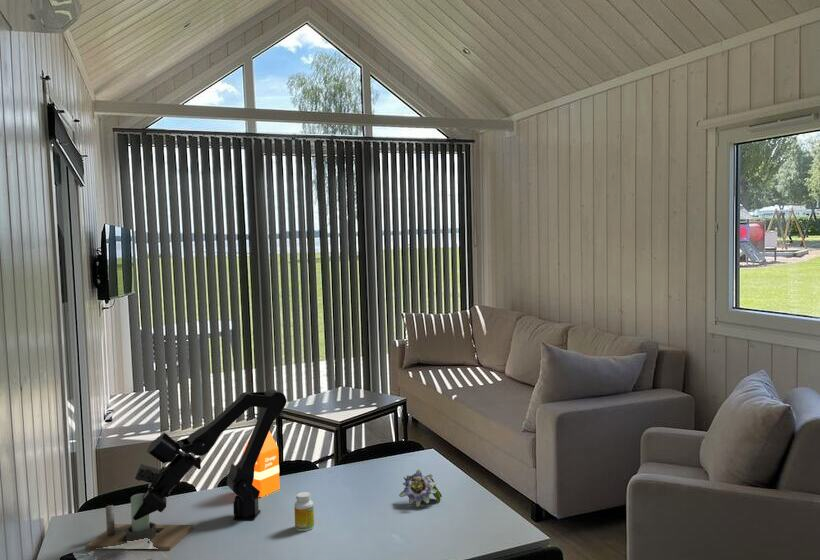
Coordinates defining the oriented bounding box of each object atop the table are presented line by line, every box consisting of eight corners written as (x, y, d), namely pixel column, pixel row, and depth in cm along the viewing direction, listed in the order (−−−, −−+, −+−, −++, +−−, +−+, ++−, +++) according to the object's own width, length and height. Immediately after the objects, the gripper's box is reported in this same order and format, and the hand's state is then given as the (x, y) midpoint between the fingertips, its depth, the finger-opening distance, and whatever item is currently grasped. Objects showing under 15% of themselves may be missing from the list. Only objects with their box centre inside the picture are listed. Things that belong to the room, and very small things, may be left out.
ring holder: (193, 528, 184) (191, 497, 184) (170, 550, 170) (168, 517, 170) (114, 527, 186) (113, 497, 186) (86, 549, 172) (84, 516, 172)
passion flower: (418, 523, 195) (395, 496, 193) (416, 504, 206) (394, 477, 203) (448, 503, 194) (425, 475, 192) (444, 485, 205) (423, 458, 202)
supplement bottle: (310, 532, 179) (308, 498, 178) (292, 531, 180) (291, 497, 179) (316, 524, 184) (315, 491, 184) (299, 523, 185) (298, 490, 185)
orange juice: (280, 489, 213) (278, 431, 213) (261, 498, 206) (258, 437, 205) (263, 486, 218) (261, 428, 217) (244, 494, 210) (241, 434, 210)
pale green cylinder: (153, 534, 180) (151, 493, 180) (144, 542, 176) (143, 499, 175) (137, 534, 181) (136, 493, 180) (129, 541, 176) (127, 499, 176)
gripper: (154, 445, 188) (115, 488, 184) (150, 464, 170) (107, 511, 167) (183, 468, 191) (145, 510, 187) (183, 488, 173) (141, 535, 170)
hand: (134, 516), depth 178 cm, fingers closed on pale green cylinder, 5 cm apart
